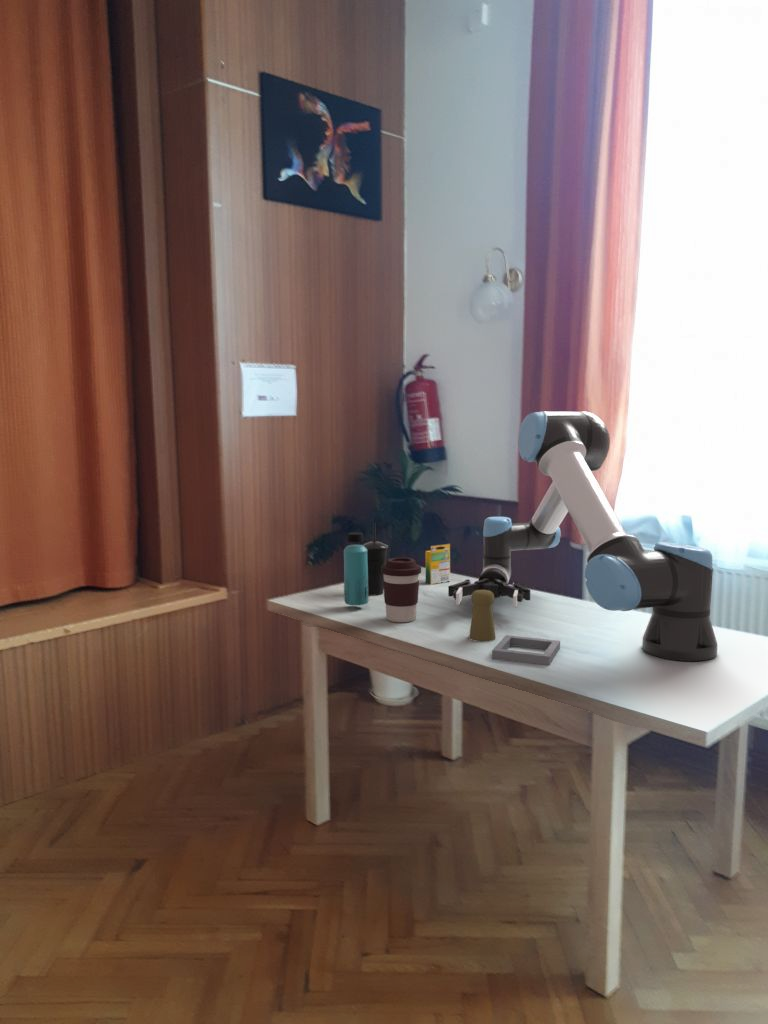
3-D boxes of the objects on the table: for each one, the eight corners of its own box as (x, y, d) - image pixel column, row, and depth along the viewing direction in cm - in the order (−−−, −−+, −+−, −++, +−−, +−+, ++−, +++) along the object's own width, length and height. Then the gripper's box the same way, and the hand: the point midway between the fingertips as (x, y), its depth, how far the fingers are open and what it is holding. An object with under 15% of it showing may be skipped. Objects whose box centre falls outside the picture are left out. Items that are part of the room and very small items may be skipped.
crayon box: (444, 580, 243) (444, 542, 242) (450, 581, 241) (450, 543, 239) (424, 582, 239) (425, 544, 238) (430, 584, 237) (430, 546, 235)
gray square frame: (560, 648, 174) (560, 640, 174) (549, 665, 163) (549, 656, 163) (505, 642, 178) (506, 635, 178) (491, 658, 167) (492, 650, 167)
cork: (497, 641, 180) (498, 593, 178) (470, 641, 180) (471, 593, 178) (493, 633, 186) (494, 587, 184) (467, 633, 186) (468, 587, 184)
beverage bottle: (368, 611, 207) (367, 534, 204) (342, 611, 207) (341, 534, 204) (369, 604, 213) (368, 530, 210) (344, 604, 213) (343, 530, 211)
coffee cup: (380, 624, 194) (380, 563, 192) (381, 614, 204) (381, 556, 202) (421, 624, 194) (422, 563, 192) (420, 614, 204) (420, 556, 202)
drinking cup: (389, 590, 230) (389, 521, 227) (386, 596, 222) (386, 525, 219) (363, 589, 230) (362, 521, 228) (359, 596, 223) (358, 525, 220)
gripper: (541, 597, 209) (538, 618, 188) (446, 593, 214) (434, 612, 194) (541, 569, 208) (539, 587, 187) (446, 565, 213) (434, 582, 193)
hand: (485, 600), depth 191 cm, fingers open, 13 cm apart
